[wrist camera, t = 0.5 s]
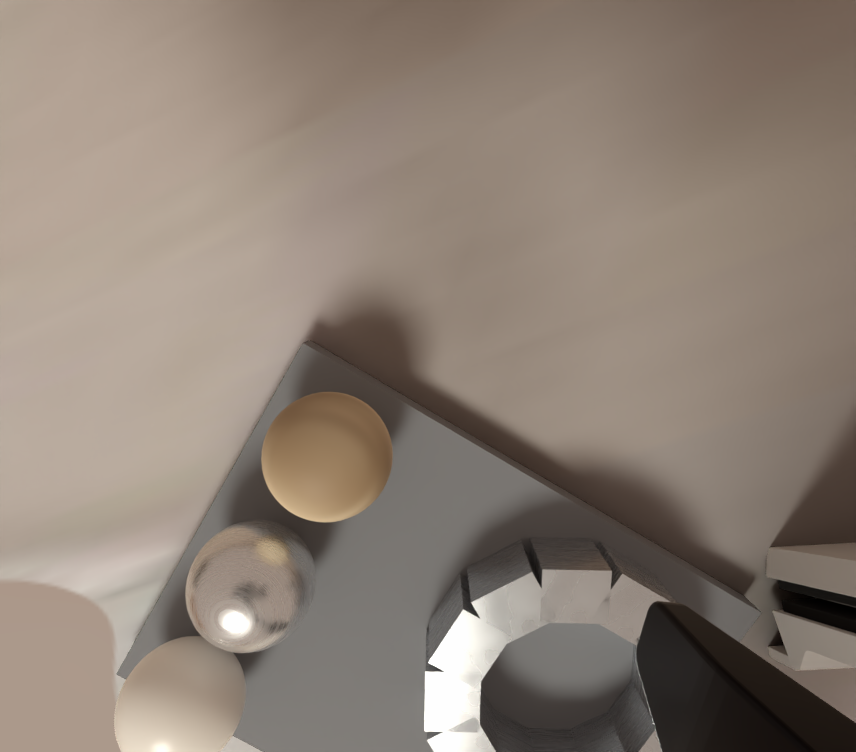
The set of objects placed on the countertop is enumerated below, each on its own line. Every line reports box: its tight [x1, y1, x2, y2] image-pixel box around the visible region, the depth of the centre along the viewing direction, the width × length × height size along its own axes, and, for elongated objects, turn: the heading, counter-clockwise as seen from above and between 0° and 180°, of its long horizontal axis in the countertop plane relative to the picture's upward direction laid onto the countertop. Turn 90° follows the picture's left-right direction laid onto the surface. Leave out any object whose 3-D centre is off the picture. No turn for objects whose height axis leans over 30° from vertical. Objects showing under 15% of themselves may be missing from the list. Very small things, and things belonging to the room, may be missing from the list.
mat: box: [117, 341, 761, 752], centre depth 22 cm, size 16×21×1 cm
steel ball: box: [185, 520, 316, 653], centre depth 19 cm, size 4×4×4 cm
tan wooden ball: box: [261, 392, 393, 522], centre depth 18 cm, size 4×4×4 cm
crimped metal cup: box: [424, 537, 677, 752], centre depth 20 cm, size 10×10×2 cm
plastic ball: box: [114, 636, 246, 752], centre depth 20 cm, size 4×4×4 cm
